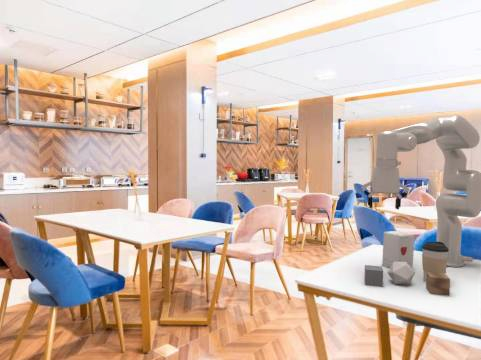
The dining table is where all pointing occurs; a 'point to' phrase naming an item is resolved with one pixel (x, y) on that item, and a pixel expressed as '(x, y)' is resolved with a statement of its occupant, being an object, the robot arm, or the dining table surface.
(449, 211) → the robot arm
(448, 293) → the walnut block
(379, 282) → the charcoal block
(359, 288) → the dining table surface
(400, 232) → the supplement box
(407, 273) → the die
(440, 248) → the coffee cup
